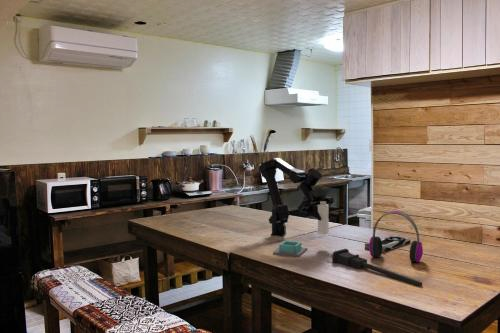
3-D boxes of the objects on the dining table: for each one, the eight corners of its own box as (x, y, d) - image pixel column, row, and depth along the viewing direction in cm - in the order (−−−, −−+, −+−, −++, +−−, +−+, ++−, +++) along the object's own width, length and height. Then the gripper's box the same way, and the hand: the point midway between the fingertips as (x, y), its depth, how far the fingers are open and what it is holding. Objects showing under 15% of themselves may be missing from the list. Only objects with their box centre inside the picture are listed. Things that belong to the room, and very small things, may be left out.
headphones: (423, 260, 173) (424, 211, 171) (420, 266, 165) (421, 215, 164) (372, 253, 183) (372, 208, 182) (367, 258, 176) (367, 211, 174)
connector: (317, 233, 193) (317, 201, 192) (320, 231, 196) (319, 200, 195) (326, 234, 191) (326, 202, 190) (328, 232, 195) (328, 201, 194)
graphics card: (364, 243, 190) (393, 233, 207) (364, 250, 191) (393, 240, 207) (384, 247, 183) (413, 237, 199) (384, 254, 183) (413, 244, 200)
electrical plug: (338, 256, 180) (338, 245, 179) (427, 289, 146) (428, 275, 145) (323, 260, 175) (324, 248, 174) (412, 294, 141) (413, 280, 140)
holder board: (273, 254, 185) (272, 245, 185) (282, 247, 196) (281, 239, 196) (299, 256, 180) (299, 247, 180) (307, 249, 191) (307, 241, 191)
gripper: (301, 183, 190) (319, 210, 182) (331, 180, 201) (349, 206, 192) (290, 198, 197) (306, 225, 189) (320, 194, 208) (336, 220, 199)
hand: (325, 219), depth 192 cm, fingers closed on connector, 5 cm apart
